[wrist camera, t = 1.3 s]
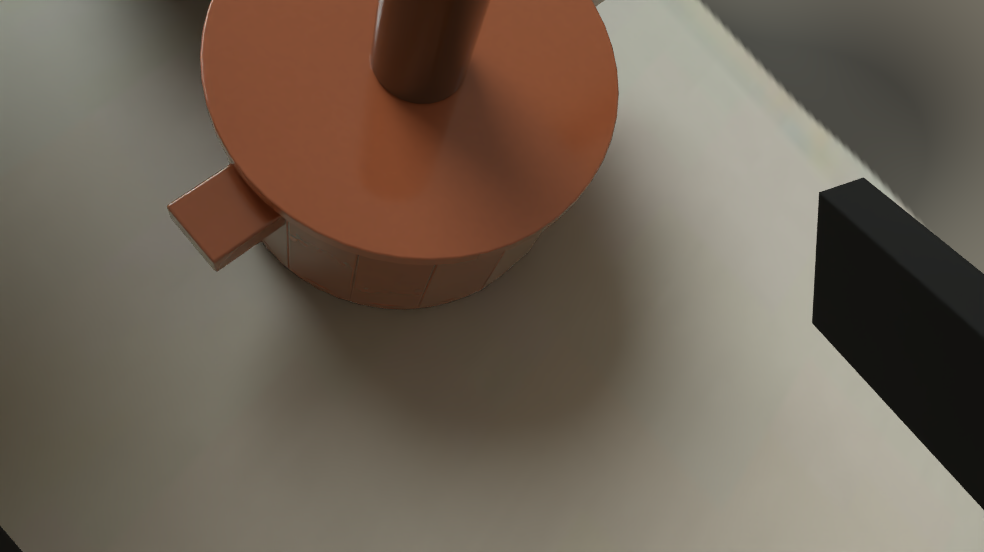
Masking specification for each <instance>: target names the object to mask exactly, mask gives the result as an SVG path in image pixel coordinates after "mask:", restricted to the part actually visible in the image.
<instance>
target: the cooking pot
mask: <svg viewBox="0 0 984 552" xmlns="http://www.w3.org/2000/svg"><path fill="white" fill-rule="evenodd" d="M592 1H593V3H594V5H595V7H596V6H597V5H599V4H600V3H601V2H603V1H604V0H592ZM227 157H228V156H227ZM228 162H229V165H228V166H226V167H225V168H223V169H222V170H220V171H219V172H217V173H216V174H214V175H213V176H211V177H210V178H208V179H207V180H205V181H204V182H202V183H201V184H199V185H197V186H196V187H194V188H193V189H191V190H190V191H188V192H187V193H185V194H184V195H182V196H181V197H179V198H178V199H176V200H175V201H173V202H171V203H170V204H168V206H167V209H168V212H169V215H170V217H171V219H172V220H173V222H174V223H175V224H176V225H177V226H178V228H179V229H180V230H181V231H182V232H183V234H184V235H185V236H186V237H187V238H188V240H189V241H190V242H191V243H192V244H193V246H194V247H195V248H196V249H197V250H198V252H199V253H200V254H201V255H202V256H203V258H204V259H205V260H206V261H207V262H208V264H209V265H210V266H211V267H212V268H213V270H215V271H219V270H220V269H222V268H223V267H225V266H226V265H228V264H229V263H230V262H232V261H233V260H235V259H236V258H238V257H239V256H240V255H242V254H243V253H245V252H246V251H247V250H249V249H250V248H252V247H253V246H255V245H256V244H257V243H259V242H260V241H262V242H263V243H264V245H265V246H266V248H267V249H268V250H269V251H270V252H271V253H272V254H273V255H274V256H275V257H276V258H277V259H278V260H279V261H280V262H281V263H282V264H283V265H284V266H286V267H287V268H288V269H289V270H291V271H292V272H293V273H294V274H296V275H297V276H298V277H299V278H301V279H303V280H304V281H306V282H308V283H309V284H311V285H313V286H314V287H316V288H318V289H320V290H322V291H324V292H326V293H329V294H331V295H333V296H335V297H338V298H340V299H344V300H347V301H350V302H354V303H357V304H360V305H366V306H372V307H378V308H385V309H415V308H427V307H432V306H436V305H441V304H446V303H449V302H452V301H455V300H458V299H461V298H464V297H466V296H469V295H471V294H473V293H475V292H477V291H480V290H482V289H484V288H485V287H486V286H488V285H489V284H490V283H492V282H493V281H495V280H496V279H498V278H499V277H500V276H502V275H503V274H504V273H505V272H506V271H507V270H508V269H510V268H511V267H512V266H513V265H514V264H515V263H516V262H517V261H518V260H519V259H521V258H522V257H523V256H524V255H526V254H527V253H528V252H529V250H530V249H531V247H532V246H533V244H534V243H535V242H536V240H537V239H538V237H539V236H540V234H541V233H542V232H540V233H539V234H537V235H536V236H534V237H533V238H531V239H529V240H527V241H525V242H523V243H521V244H519V245H517V246H515V247H513V248H511V249H509V250H506V251H503V252H500V253H497V254H494V255H491V256H488V257H485V258H481V259H476V260H471V261H466V262H461V263H455V264H441V265H412V264H398V263H392V262H387V261H381V260H375V259H370V258H367V257H364V256H360V255H357V254H354V253H350V252H347V251H344V250H341V249H339V248H337V247H334V246H332V245H330V244H328V243H326V242H323V241H321V240H319V239H317V238H315V237H313V236H311V235H310V234H308V233H306V232H305V231H303V230H301V229H300V228H298V227H296V226H295V225H293V224H291V223H290V222H288V221H287V220H286V219H285V218H283V217H282V216H281V215H280V214H278V213H277V212H276V211H275V210H273V209H272V208H271V207H269V206H268V205H267V204H266V203H265V202H264V201H263V200H262V199H261V198H260V197H259V196H258V195H257V194H256V193H255V192H254V191H253V190H252V189H251V188H250V187H249V186H248V185H247V183H246V182H245V181H244V179H243V178H242V177H241V175H240V174H239V173H238V171H237V170H236V169H235V167H234V166H233V165H232V163H231V162H230V160H229V158H228Z"/></svg>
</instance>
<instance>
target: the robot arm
mask: <svg viewBox="0 0 984 552" xmlns="http://www.w3.org/2000/svg"><path fill="white" fill-rule="evenodd" d="M812 323H813V324H814V326H815V327H816V328H817V329H818V330H819V331H820V332H821V333H822V334H823V335H824V336H825V337H826V339H827V340H828V341H829V342H830V343H831V344H832V345H833V346H834V347H835V348H836V349H837V351H838V352H839V353H840V354H841V355H842V356H843V357H844V358H845V359H846V360H847V361H848V363H849V364H850V365H851V366H852V367H853V368H854V369H855V370H856V371H857V372H858V373H859V375H860V376H861V377H862V378H863V379H864V380H865V381H866V382H867V383H868V384H869V385H870V386H871V388H872V389H873V390H874V391H875V392H876V393H877V394H878V395H879V396H880V397H881V398H882V400H883V401H884V402H885V403H886V404H887V405H888V406H889V407H890V408H891V409H892V410H893V412H894V413H895V414H896V415H897V416H898V417H899V418H900V419H901V420H902V421H903V422H904V424H905V425H906V426H907V427H908V428H909V429H910V430H911V431H912V432H913V433H914V434H915V436H916V437H917V438H918V439H919V440H920V441H921V442H922V443H923V444H924V445H925V446H926V447H927V449H928V450H929V451H930V452H931V453H932V454H933V455H934V456H935V457H936V458H937V459H938V461H939V462H940V463H941V464H942V465H943V466H944V467H945V468H946V469H947V470H948V471H949V473H950V474H951V475H952V476H953V477H954V478H955V479H956V480H957V481H958V482H959V483H960V485H961V486H962V487H963V488H964V489H965V490H966V491H967V492H968V493H969V494H970V495H971V496H972V498H973V499H974V500H975V501H976V502H977V503H978V504H979V505H980V506H981V507H982V508H983V510H984V274H983V273H982V272H981V271H979V270H978V269H977V268H975V267H974V266H973V265H972V264H971V263H969V262H968V261H967V260H966V259H964V258H963V257H962V256H961V255H959V254H958V253H957V252H956V251H954V250H953V249H952V248H951V247H949V246H948V245H947V244H946V243H944V242H943V241H942V240H941V239H939V238H938V237H937V236H936V235H934V234H933V233H932V232H931V231H929V230H928V229H927V228H926V227H925V226H923V225H922V224H921V223H920V222H918V221H917V220H916V219H915V218H913V217H912V216H911V215H910V214H908V213H907V212H906V211H905V210H903V209H902V208H901V207H900V206H898V205H897V204H896V203H895V202H893V201H892V200H891V199H890V198H888V197H887V196H886V195H885V194H883V193H882V192H881V191H880V190H878V189H877V188H876V187H875V186H873V185H872V184H871V183H870V182H869V181H867V180H866V179H865V178H861V179H858V180H855V181H852V182H849V183H846V184H843V185H840V186H837V187H834V188H831V189H828V190H825V191H822V192H819V206H818V224H817V243H816V262H815V280H814V299H813V318H812ZM0 552H22V550H21V549H20V548H19V547H18V546H17V545H16V544H15V542H14V541H13V540H12V539H11V538H10V537H9V535H8V534H7V533H6V532H5V531H4V530H3V528H2V527H1V526H0Z"/></svg>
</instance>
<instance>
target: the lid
mask: <svg viewBox="0 0 984 552" xmlns="http://www.w3.org/2000/svg"><path fill="white" fill-rule="evenodd" d="M200 67H201V82H202V87H203V92H204V97H205V101H206V106H207V111H208V114H209V117H210V120H211V122H212V125H213V128H214V130H215V133H216V136H217V138H218V140H219V142H220V144H221V146H222V147H223V149H224V151H225V153H226V155H227V156H228V158H229V160H230V162H231V163H232V165H233V166H234V167H235V169H236V170H237V171H238V173H239V174H240V175H241V177H242V178H243V179H244V181H245V182H246V183H247V185H248V186H249V187H250V188H251V189H252V190H253V191H254V192H255V193H256V194H257V195H258V196H259V197H260V198H261V199H262V200H263V201H264V202H265V203H266V204H267V205H268V206H269V207H271V208H272V209H273V210H275V211H276V212H277V213H278V214H280V215H281V216H282V217H283V218H285V219H286V220H287V221H288V222H290V223H291V224H293V225H295V226H296V227H298V228H300V229H301V230H303V231H305V232H306V233H308V234H310V235H311V236H313V237H315V238H317V239H319V240H321V241H323V242H326V243H328V244H330V245H332V246H334V247H337V248H339V249H341V250H344V251H347V252H350V253H354V254H357V255H360V256H364V257H367V258H370V259H375V260H381V261H387V262H392V263H398V264H412V265H441V264H455V263H461V262H466V261H471V260H476V259H481V258H485V257H488V256H491V255H494V254H497V253H500V252H503V251H506V250H509V249H511V248H513V247H515V246H517V245H519V244H521V243H523V242H525V241H527V240H529V239H531V238H533V237H534V236H536V235H537V234H539V233H540V232H542V231H543V230H545V229H546V228H547V227H549V226H550V225H552V224H553V223H555V222H556V221H557V220H558V219H559V218H560V217H561V216H562V215H563V214H564V213H565V212H566V211H567V210H569V209H570V208H571V207H572V206H573V204H574V203H575V202H576V201H577V199H578V198H579V197H580V196H581V194H582V193H583V192H584V191H585V189H586V188H587V187H588V186H589V184H590V183H591V181H592V180H593V178H594V176H595V174H596V173H597V171H598V169H599V167H600V166H601V164H602V162H603V160H604V158H605V155H606V153H607V150H608V148H609V145H610V142H611V140H612V136H613V132H614V127H615V123H616V118H617V109H618V96H619V91H618V76H617V67H616V62H615V58H614V53H613V48H612V45H611V42H610V39H609V36H608V33H607V30H606V28H605V25H604V23H603V21H602V19H601V17H600V15H599V13H598V11H597V9H596V7H595V5H594V3H593V1H592V0H211V2H210V4H209V7H208V11H207V14H206V18H205V22H204V26H203V29H202V38H201V48H200Z"/></svg>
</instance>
